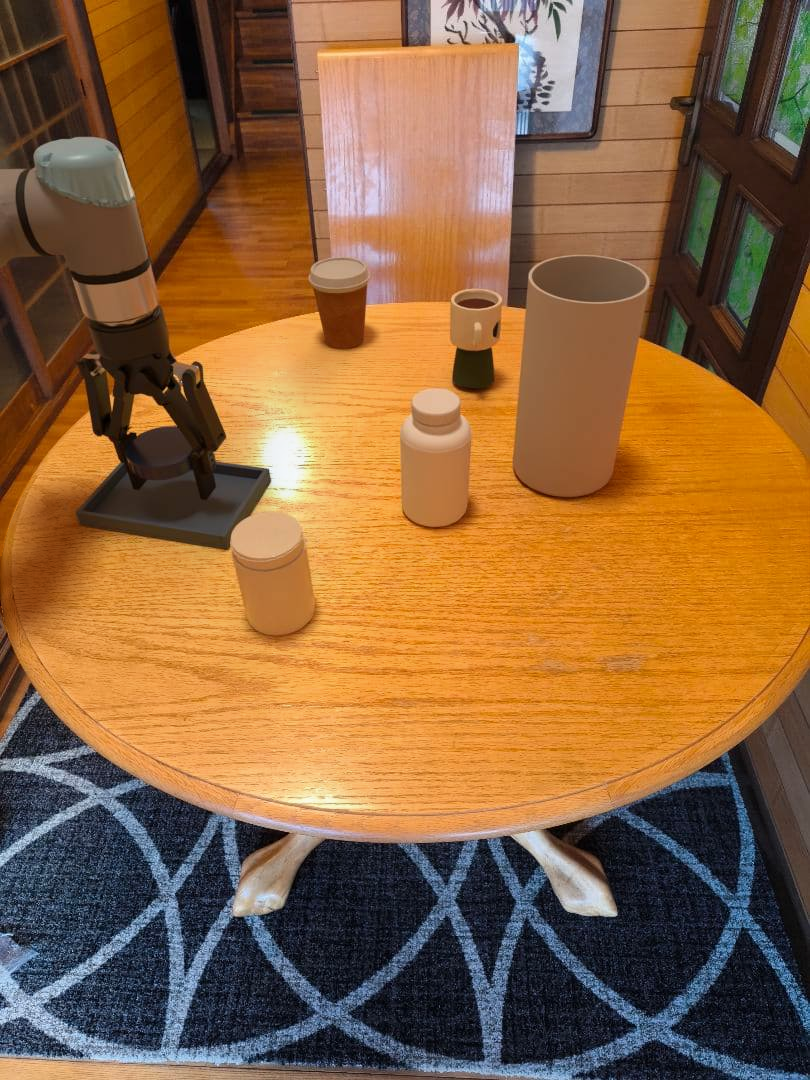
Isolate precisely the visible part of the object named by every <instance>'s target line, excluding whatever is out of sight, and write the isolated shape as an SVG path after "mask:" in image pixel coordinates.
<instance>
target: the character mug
mask: <svg viewBox="0 0 810 1080" xmlns="http://www.w3.org/2000/svg"><path fill="white" fill-rule="evenodd" d="M449 307H450V311H449V313H450V314H449V315H450V316H449V317H450V318H449V341H450V343H451V344H452V346H455V348H456V349H455V355H454V361H453V366H452V377H451V378H452V379H451V380H452V382H453V383H454V384H455V385H456V386H460V387H463V388H471V389H485V388H488V387H490V386H492V385H493V384H494V382H495V365H494V355H493V347H494V346H496V345H497V344H498V343H499V342H500V338H501V330H502V309H503V298H502V296H501V294H499V293H497V292H496V291H493V290H489V289H486V288H467V289H461V290H459V291H457V292H455V293H454V294H452V296H451V298H450V305H449Z"/></svg>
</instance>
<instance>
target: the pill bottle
mask: <svg viewBox="0 0 810 1080" xmlns="http://www.w3.org/2000/svg"><path fill="white" fill-rule="evenodd" d="M461 402H462V401H461V399H460V397H459V396H458V395H457V394H456V393H455V392H453V391H452V390H449V389H446V388H439V387H437V388H436V387H435V388H432V387H431V388H427V389H422V390H420V391H419V392H417V393H415V394H414V395H413V397H412V399H411V403H410V404H411V410H410V411H411V413H410V414H409V415H408V416H407V417H406V418H405V419H404V420H403V422H402V424H401V428H400V431H399V432H400V434H399V435H400V436H399V438H400V439H399V441H400V490H401V492H400V493H401V496H400V497H401V507H402V510H403V513H404V514H405V515H406V517H407V518H408V519H409V520H410V521H412V522H414V523H416V524H418V525H420V526H424V527H428V528H429V527H431V528H440V527H446V526H449V525H452V524H454V523H456V522H458V521H459V520H460V519H462V517H463V516H464V514H465V513H466V512H467V509H468V503H469V489H470V470H471V452H472V451H471V450H472V428H471V424H470V422H469V421H468V419H467V418H466V417H465V416H464V415H462V414H461V407H462V405H461Z"/></svg>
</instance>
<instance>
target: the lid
mask: <svg viewBox="0 0 810 1080" xmlns="http://www.w3.org/2000/svg"><path fill="white" fill-rule="evenodd" d="M192 450H193V448H192V447H191V445H190V444H189V442H188V441H187V440H186V438H185V437H184V435H183V434H182V433H181V431H180V430H179V428H178V427H177V426H176V425H167V426H166V425H165V426H160V427H154V428H152V429H148V430H146V431H143V432H141V433H139V434H137V436H136V437H135V438H134V439H132V440H131V441H130V443H129V444H128V445H127V447H126V452H125V453H126V457H127V458H126V460H127V463H128V466H129V467H130V469H131V472H133V473H134V474H135V475H136V476H138V477H140V478H143V479H147V480H167V479H172V478H175V477H178V476H181V475H183V474H185V473H187V472H189V471H190V470H192V469H193V468H192V464H191V460H190V457H189V454H190V452H191V451H192Z"/></svg>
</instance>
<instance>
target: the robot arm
mask: <svg viewBox="0 0 810 1080" xmlns="http://www.w3.org/2000/svg"><path fill="white" fill-rule="evenodd" d="M33 163H34V167H32V168H0V270H1V269H2V268H3V267H5V265H6V264H7V263H8V262H10V261H11V259H15V258H28V257H29V258H31V257H54V256H63V258H64V260H65V262H66V264H67V267H68V269H69V272H70V276H71V279H72V282H73V285H74V289H75V291H76V292H75V293H76V295H77V298H78V301H79V305H80V308H81V311H82V313H83V315H84V317H86V318H87V319H86V325H87V328H88V331H89V335H90V337H91V340H92V343H93V347H94V349H95V350H89V351H88V352H87V353H86V354H85V355H83V357H81V358H80V359H79V360H78V361H77V362H76V366H77V368H78V370H79V372H80V374H81V376H82V378H83V380H84V386H85V393H86V397H87V403H88V411H89V417H90V422H91V428H92V433H93V434H94V435H95V436H96V437H99V438H100V437H102V436H104V437H105V438H108V441H110V442H111V443H112V444H113V447H114V450H115V452H116V457H117V458H118V460H119V463H120V462H121V463H125V466H126V469H127V472H128V475H129V478H130V481H131V484H132V487H133V489H134V490H139V489H140V488H141V487H142V486H143V485H144V483H145V482H146V481H147V479H143V478H140V477H138V476H136V475H135V474H134V473H133V472H131V469H130V467H129V466H128V463H127V460H126V458H127V457H126V453H125V452H126V447H127V445H128V444H129V443H130V441H131V440H132V439H134V438H135V437H136V436H138V434H137V432H133V431H130V432H129V430H131V429H132V427H133V426H132V425H130V424H131V417H132V413H133V407H134V401H135V396H136V395H144V396H147V397H151V398H152V399H153V401H154V402H155V403H156V405H157V406H159V407H163V409H164V410H165V411H166V413H167V414H168V416H169V417H170V419H171V420H172V422H173V423H174V424H175V426H177V427H178V428H179V430H180V431H181V433H182V434H183V435H184V437H185V438H186V440H187V441H188V442H189V444H190V445H191V447H192V448H193V450H192V451H191V452H190V454H189V457H190V460H191V464H192V468H193V472H194V476H195V479H196V483H197V487H198V491H199V495H200V498H201V499H202V500H207V499H208V497H209V496H210V495H211V493H212V492H213V490H214V489H215V488H216V483H215V479H214V475H213V471H214V470H215V469H216V465H217V464H216V461H217V459H216V457H215V452H217V451H218V450H219V449H220V447H221V446H222V444H223V443H224V442H225V440H226V439H227V434H226V431H225V429H224V426H223V425H222V422H221V420H220V417H219V414H218V413H217V410H216V408H215V405H214V402H213V400H212V398H211V395H210V393H209V391H208V388H207V386H206V382H205V381H204V378H205V377H204V367H203V364H202V363H201V362H199V361H196V360H195V361H193V362H192V363H191V364H188V363H184V362H180V361H178V360H177V358H176V357H175V356H174V354H173V352H172V351H171V348H170V334H169V330H168V326H167V321H166V318H165V314H164V309H163V307H162V306H161V305H160V304H159V303H160V296H159V292H158V288H157V283H156V280H155V275H154V272H153V268H152V263H151V260H150V256H149V253H148V249H147V244H146V241H145V237H144V232H143V229H142V224H141V220H140V216H139V211H138V207H137V203H136V202H137V201H136V195H135V190H134V188H133V187H132V185H131V182H130V178H129V175H128V171H127V169H126V165H125V162H124V159H123V155H122V153H121V151H120V150H119V148H118V147H117V146H116V145H115V144H114V143H113V142H111V141H109V140H107V139H105V138H101V137H96V136H95V137H94V136H75V137H72V138H60V139H56V140H52V141H49V142H46V143H43V144H42V145H40V146H38V147H37V148H36V149H35V151H34V153H33ZM107 373H108V374H109V375H110V377H111V378H112V379H113V388H112V397H113V402H112V401H111V394H110V388H109V382H108V381H109V380H108V374H107ZM175 376H176V377H177V378H176V377H175ZM177 379H178V380H177ZM182 390H183V392H182ZM111 402H112V403H111ZM128 432H129V433H128Z"/></svg>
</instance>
